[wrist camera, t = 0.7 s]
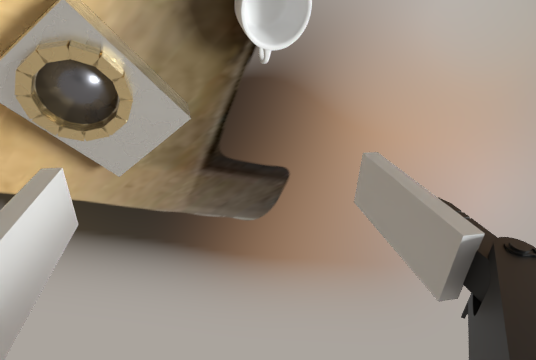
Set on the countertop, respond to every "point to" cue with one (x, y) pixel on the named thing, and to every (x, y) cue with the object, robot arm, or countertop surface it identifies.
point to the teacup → (272, 22)
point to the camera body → (89, 88)
